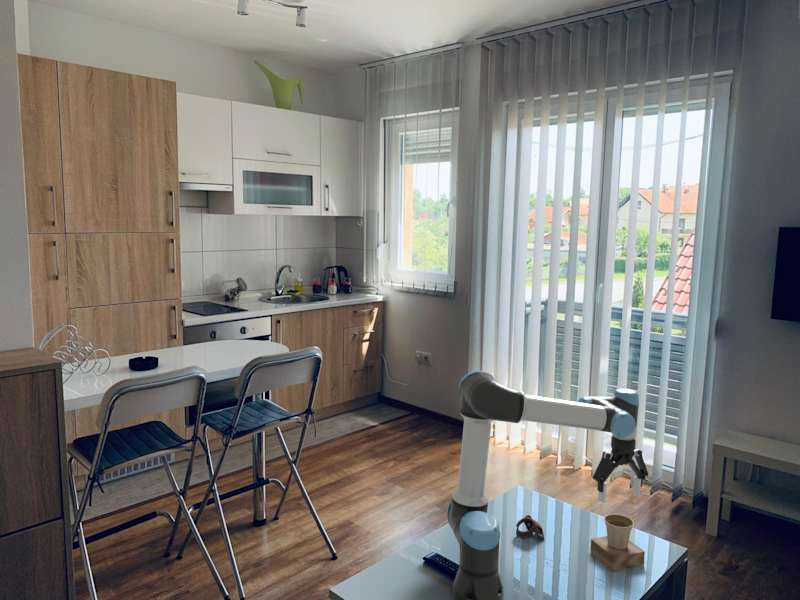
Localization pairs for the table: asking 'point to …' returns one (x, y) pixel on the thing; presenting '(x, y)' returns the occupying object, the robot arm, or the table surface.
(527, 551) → the table surface
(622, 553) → the walnut stand
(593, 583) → the table surface
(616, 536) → the flower pot
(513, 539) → the table surface
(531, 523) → the broken clay jug
